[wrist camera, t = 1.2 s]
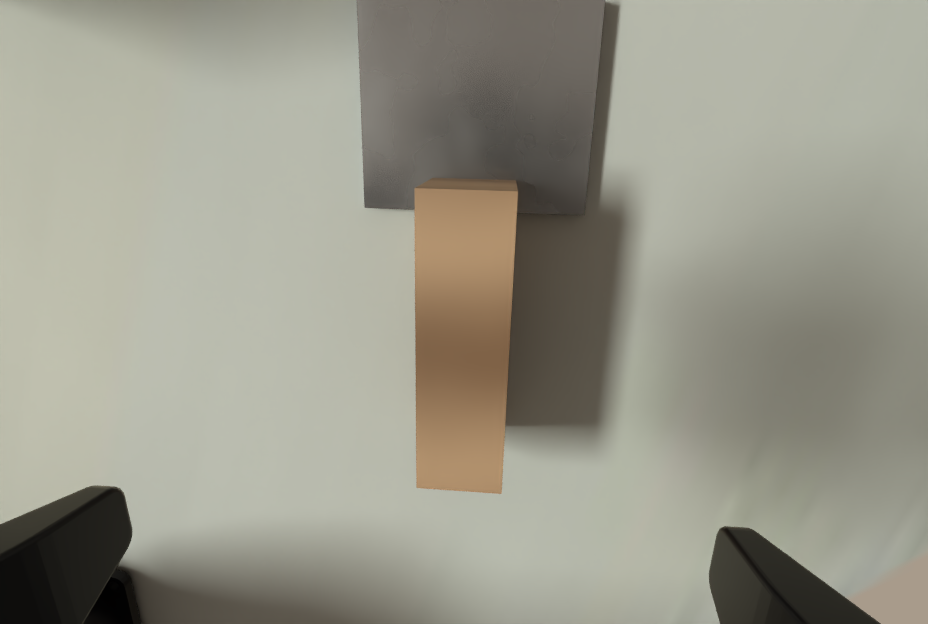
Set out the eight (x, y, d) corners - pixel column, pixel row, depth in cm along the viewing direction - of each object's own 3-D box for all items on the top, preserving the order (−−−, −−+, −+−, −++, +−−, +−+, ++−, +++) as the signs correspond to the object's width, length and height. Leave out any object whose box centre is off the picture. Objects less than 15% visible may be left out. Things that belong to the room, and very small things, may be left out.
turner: (561, 428, 20) (574, 498, 16) (376, 417, 20) (346, 483, 16) (601, 2, 15) (633, -43, 11) (362, 0, 16) (315, -43, 12)
